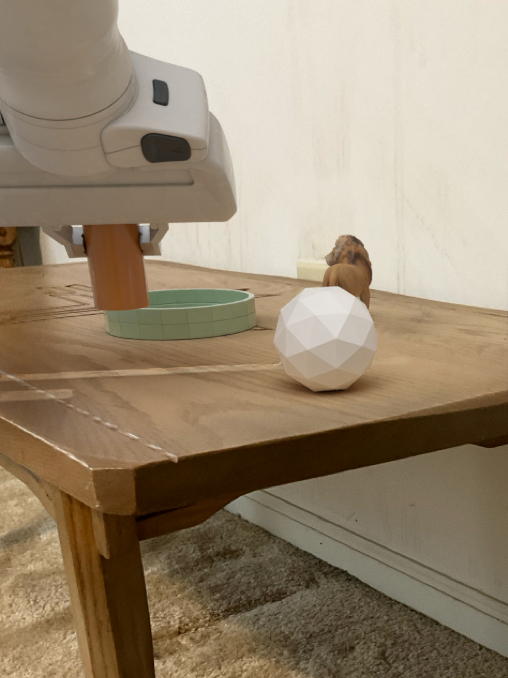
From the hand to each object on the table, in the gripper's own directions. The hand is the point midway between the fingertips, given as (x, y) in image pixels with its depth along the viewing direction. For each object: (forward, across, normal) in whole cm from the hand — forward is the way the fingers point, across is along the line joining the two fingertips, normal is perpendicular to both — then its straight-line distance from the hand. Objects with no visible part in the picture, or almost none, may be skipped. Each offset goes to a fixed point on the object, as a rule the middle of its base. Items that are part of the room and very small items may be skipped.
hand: (116, 250), depth 69 cm
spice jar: (+3, 0, -4) cm, 4 cm away
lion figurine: (+19, +20, +5) cm, 28 cm away
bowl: (+19, +3, +6) cm, 20 cm away
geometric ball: (0, +16, -14) cm, 22 cm away
